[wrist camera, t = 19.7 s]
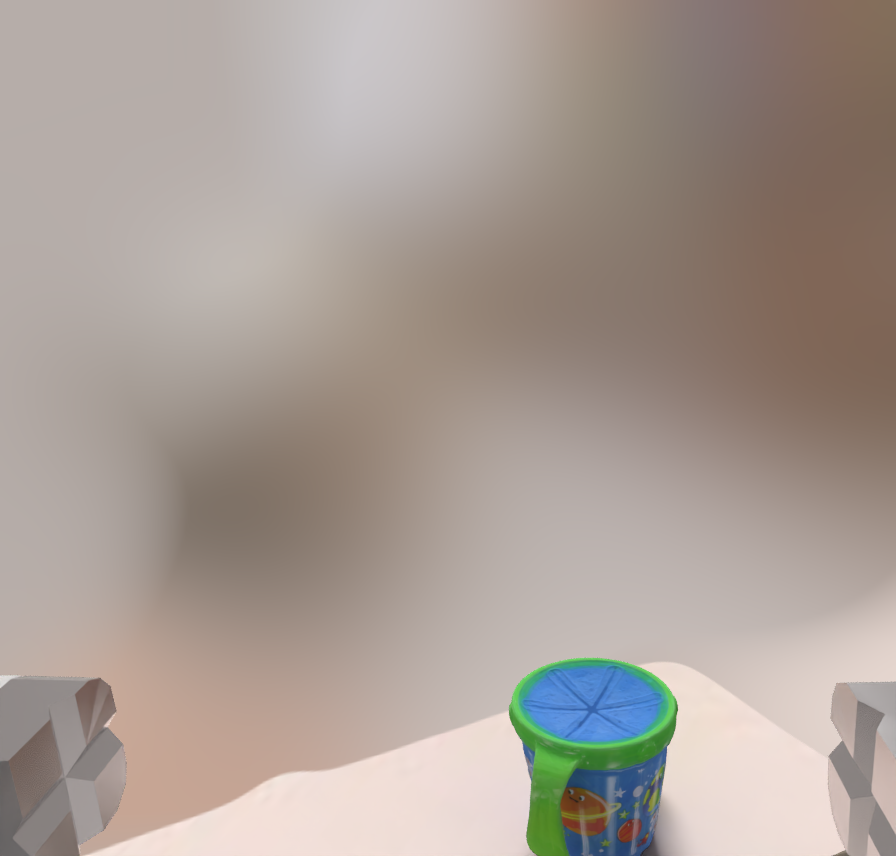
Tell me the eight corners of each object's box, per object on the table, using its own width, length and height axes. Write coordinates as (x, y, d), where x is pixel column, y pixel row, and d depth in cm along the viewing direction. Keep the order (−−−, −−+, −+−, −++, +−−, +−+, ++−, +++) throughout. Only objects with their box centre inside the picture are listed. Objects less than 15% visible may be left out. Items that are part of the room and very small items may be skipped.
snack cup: (585, 742, 63) (580, 626, 61) (716, 791, 57) (716, 663, 54) (467, 871, 52) (454, 734, 49) (615, 952, 45) (608, 799, 43)
